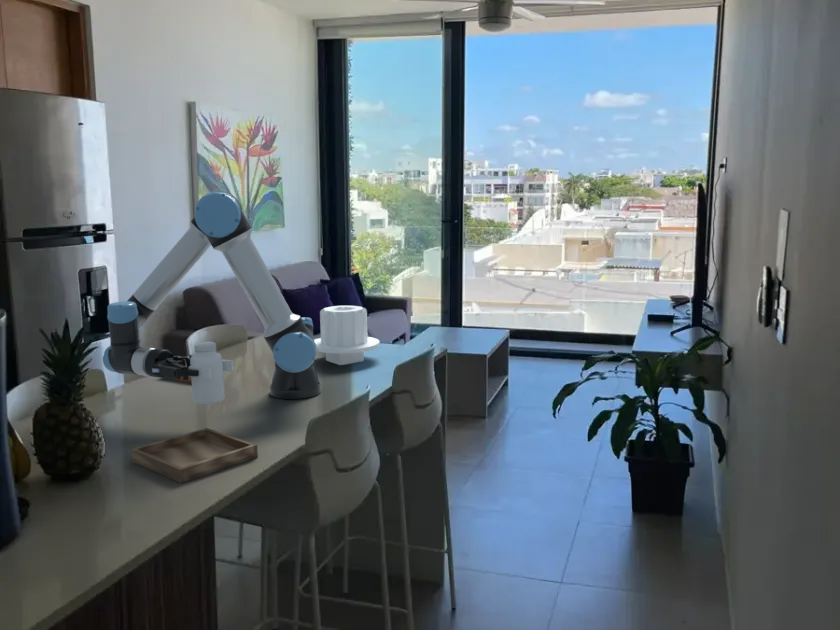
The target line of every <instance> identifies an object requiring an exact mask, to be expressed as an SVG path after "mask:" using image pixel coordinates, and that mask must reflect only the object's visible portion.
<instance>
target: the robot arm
mask: <svg viewBox="0 0 840 630" xmlns="http://www.w3.org/2000/svg"><path fill="white" fill-rule="evenodd" d="M189 226H190V227H189V228H188V230H186V232H185V233H184V234H183V236H181V238H180V239H179V240H178V241H177V243H175V245H173V247H172V248H171V249H170V251H168V252H167V254H166V255H165V256H164V258H162V260H161V261H160V262H159V263H158V264H157V265H156V266H155V268H154V269H153V270H152V272H151V273H150V274H149V275H148V276H147V277H146V279H145V280H144V281H143V282H142V283H141V284H140V285H139V286H138V287H137V289H136V290H135V291H134V293H132V295H131V296H130V297H129V298H128V299H127V301H125V300H124V301H123V300H122V301H117V302H116V301H115V302H110V304H108V305H107V316H106V318H107V321H108V330H109V332H108V333H109V338H110V339H109V340H110V342H109V343H110V344H109V346H108V347H107V348H106V349H105V350H104V352H103V356H102V363H103V366H104V367H105V368H106V369H107V370H108V371H110V372H112V373H113V372H114V373H118V374H122V375H123V374H124V375H126V374H127V375H136V376H144V378H146V379H147V378H149V377H153V378H159V379H160V378H161V379H166V378H165V377H171V378H176V379H180V378H181V376H182V377H184V380H188V376H189V377H193V378H202V379H212V376H211V368H205V367H195V366H190V359H191V357H192V356H193V355H194V354H193V355H192V354H186V355H185V356H180V355H173V353H172V352H171V351H170V350H169V349H165V348H164V349H163V348H153V347H142V346H141V338H140V328H141V327H143V326H144V325H145V323H147V321H148V319H150V317H151V316H152V314H153V313H154V312H155V311H156V310H157V309H158V307H159V306H160V305H161V304H162V303H163V302H164V300H165V299H166V298H167V297H168V296H169V295H170V293H171V292H172V291H173V290H174V289H175V288H176V287H177V286H178V284H179V283H180V282H181V281H182V280H183V279H184V278H185V276H186V275H187V274H188V273H189V272H190V271H191V269H192V268H194V266H195V265H196V264H197V262H198V261H199V260H200V259H201V257H202V256H204V254H206V252H207V251H208V250H209V249H210V248H211V247H212V249H213V250H216V251H219V252H221V253H222V254H223V257H224V258H225V260H226V262H227V264H228V265H229V267H230V269H231V270H232V272H233V274H234V276H235V278H236V279H237V281H238V283H239V285H240V287H241V289H242V290H243V292H244V294H245V295H246V297H247V299H248V300H249V303H250V304H251V306H252V308H253V310H254V311H255V313H256V315H257V316H258V318H259V320H260V322H261V324H262V326H263V327H264V331H263V335H262V337H263V338H264V340H265V342H266V344H267V345H268V347H269V349H270V351H271V352H272V356H273V359H274V372H273V375H272V379H271V384H270V386H269V395H270V396H272V397H274V398H276V399H283V400H298V399H299V400H300V399H306V398H307V399H308V398H311V397H314V396H317V395H319V394H321V382H320V381H319V377H318V374H317V372H316V368H315V359H316V357H317V347H316V344H315V342H314V340H315V339H314V331H313V330H314V324H313V320H312V318H311V317H305V316H304V317H301V315H299V314H295V313H293V312H292V310H291V309H290V306H289V304H288V303H287V301H286V299H285V296H283V293H282V292H281V290H280V288H279V287H278V284H277V283H276V280H275V279H274V278H273V276H272V274H271V272H270V270H269V269H268V267H267V264H266V263H265V261H264V260H263V257H262V256H261V254H260V253H259V250H258V248H257V247H256V245H255V243H254V241H253V239H252V237H251V235H252V231H253V228H252V226H251V225H250V222H249V221H248V219H247V217H246V214H245V213H244V211H243V209H242V205H241V203H240V201H239V200H238V198H237V197H235V196H234V195H233V194H232V193H229V192H227V191H223V190H222V191H221V190H215V191H210V192H208V193H206V194H205V195H203V196H202V197H201V198H199V200H198V201H197V203H196V206H195V208H194V216H193V218H192V219H191V220H190V222H189ZM222 362H223V372H225V371H226V372H234V371H235V368H234V367H235V365H234V360H232V359H231V360H230V359H222Z"/></svg>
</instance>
